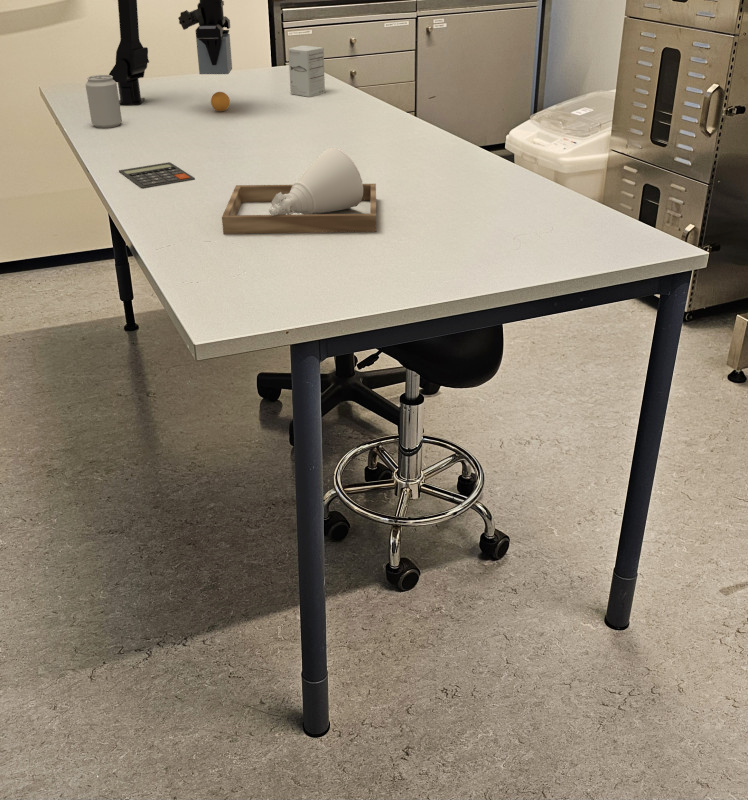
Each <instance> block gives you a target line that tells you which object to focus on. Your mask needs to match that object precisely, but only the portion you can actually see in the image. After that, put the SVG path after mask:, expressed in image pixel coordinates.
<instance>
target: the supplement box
mask: <svg viewBox="0 0 748 800" xmlns="http://www.w3.org/2000/svg"><path fill="white" fill-rule="evenodd" d="M324 50H325V48H324V47H319V46H312V45H305V44H303V45H298V46H293V47H290V48H288V64H289V65H288V67H289V68H288V69H289V86H290V88H289V89H290V94H291V95H297V96H300V97H301V96H303V97H307V98H312V97H316V96H318V95H319V96H320V95H323V94H325V93H326V91H325V90H326V87H325V86H326V85H325V60H324V59H325V56H324V54H325V53H324Z"/></svg>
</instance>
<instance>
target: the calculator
mask: <svg viewBox="0 0 748 800" xmlns="http://www.w3.org/2000/svg"><path fill="white" fill-rule="evenodd" d="M118 173H119V174H120V175H122V176H124V177H125V178H126V179H127V180H129V181H131V182H132V183H133V184H134V185H136V186H137V187H138V188H140V189H149V188H154V187H160V186H167V185H171V184H177V183H183V182H190V181H194V180H196V178H195V177H194V176H193V175H191V174H190V173H188V172H186V171H185V170H183V169H181V168H180V167H178V166H177V165H175V164H174V163H172V162H163V163H157V164H156V163H155V164H150V165H143V166H138V167H130V168H126V169H119V170H118Z"/></svg>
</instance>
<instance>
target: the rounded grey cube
mask: <svg viewBox="0 0 748 800" xmlns="http://www.w3.org/2000/svg"><path fill="white" fill-rule="evenodd" d="M222 37H223V40H222V44H221V48H220V53H219V57H218V61H217V65H212V63H211V60H210V57H209V54H208V51H207V48H206V45H205V44H204V43H203V42H202V41H200V40H199V39H198V38H196V37H195V38H196V41H195V42H196V50H197V51H196V52H197V62H198V72H199V73H198V74H199V75H229V74H230V73H231V71H232V70H233V61H232V49H231V47H232V46H231V36H230V33H228V34H222Z"/></svg>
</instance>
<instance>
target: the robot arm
mask: <svg viewBox="0 0 748 800" xmlns="http://www.w3.org/2000/svg"><path fill="white" fill-rule="evenodd" d="M224 3H225V1H224V0H199V2H198V3H197V8H196V9H193V10H191V11H189V10H187V9H186V10H184V11H181V12H180V15H179V17H178V24H179V25H181V27H182V29H183V30H184V31H185V30H187V29H189V27H192V26H194V25H197V24H198V26H197V28H196V29H195V38H198V39H199V40H200V41H202V42H203V43H204V44H205V45H206V48H207V51H208V54H209V57H210V60H211V63H212V65H217V61H218V57H219V53H220V48H221V44H222V40H223V37H222V34H230V28H231V20H230V18H228V17H227V16H226V15H225V16H224V6H225V4H224ZM117 6H118V7H117V8H118V20H119V23H118V24H119V35H120V41H119V44H118V46H117V48H116V50H115V51H116V53H115V64H114V66H112V69H111V70H110V71H109V74H108V75H111V76H113V80H114V81H115V82H116V83H117V89H118V96H119V104H120V106H122V105H123V106H124V105H129V106H130V105H141V104H142V103H143V102H144V101H145V100H146V99H145V97H142V95H141V88H140V82H139V81H140V79H143V78H144V77H145V71H146V70H147V68H148V64H149V63H150V60H149V48H148V47H146V46H145V47H144V46H143V44H142V42H141V41H140V32H139V31H140V30H139V29H140V28H139V16H138V14H139V13H138V0H117ZM224 28H226V29H224Z"/></svg>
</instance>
